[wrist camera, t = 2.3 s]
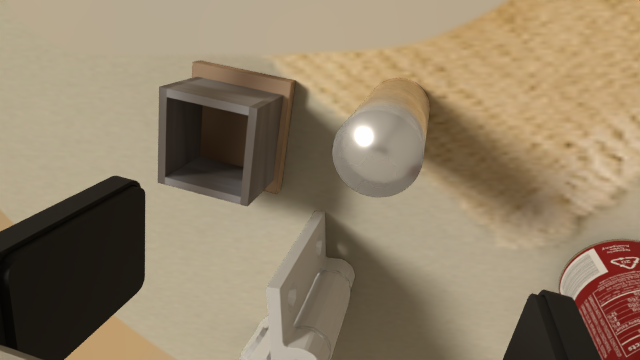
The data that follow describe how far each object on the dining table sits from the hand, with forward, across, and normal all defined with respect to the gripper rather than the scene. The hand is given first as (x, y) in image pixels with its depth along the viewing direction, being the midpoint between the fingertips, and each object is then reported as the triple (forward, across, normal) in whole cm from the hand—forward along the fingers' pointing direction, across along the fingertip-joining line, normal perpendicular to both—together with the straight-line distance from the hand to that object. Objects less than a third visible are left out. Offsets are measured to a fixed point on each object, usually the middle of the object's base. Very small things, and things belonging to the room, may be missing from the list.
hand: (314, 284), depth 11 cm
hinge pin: (+20, 0, 0) cm, 20 cm away
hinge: (+20, +4, +15) cm, 26 cm away
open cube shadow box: (+20, +10, +3) cm, 23 cm away
